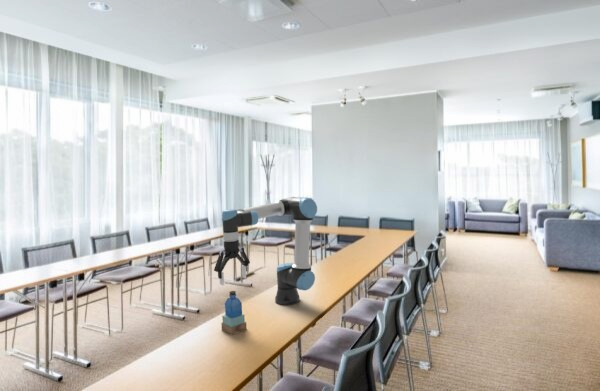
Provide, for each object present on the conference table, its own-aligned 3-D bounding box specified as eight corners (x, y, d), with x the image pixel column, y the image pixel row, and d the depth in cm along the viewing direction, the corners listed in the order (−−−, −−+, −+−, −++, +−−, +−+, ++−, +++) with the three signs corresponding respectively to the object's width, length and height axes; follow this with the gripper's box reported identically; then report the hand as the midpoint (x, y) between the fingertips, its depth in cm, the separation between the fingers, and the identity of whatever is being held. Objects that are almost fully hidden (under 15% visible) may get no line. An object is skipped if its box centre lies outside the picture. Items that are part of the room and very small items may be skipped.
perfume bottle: (231, 318, 182) (230, 294, 182) (225, 314, 187) (224, 292, 186) (242, 314, 186) (240, 291, 186) (236, 311, 191) (234, 289, 190)
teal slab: (235, 318, 193) (235, 311, 192) (244, 322, 187) (244, 314, 187) (222, 323, 187) (222, 315, 187) (231, 327, 181) (231, 319, 181)
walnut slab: (236, 325, 194) (236, 317, 193) (246, 329, 187) (246, 322, 187) (221, 330, 187) (221, 323, 187) (231, 335, 181) (231, 327, 181)
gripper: (246, 235, 196) (248, 274, 198) (205, 243, 179) (208, 286, 180) (255, 236, 191) (257, 276, 192) (213, 245, 173) (216, 289, 175)
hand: (233, 281), depth 186 cm, fingers open, 13 cm apart
